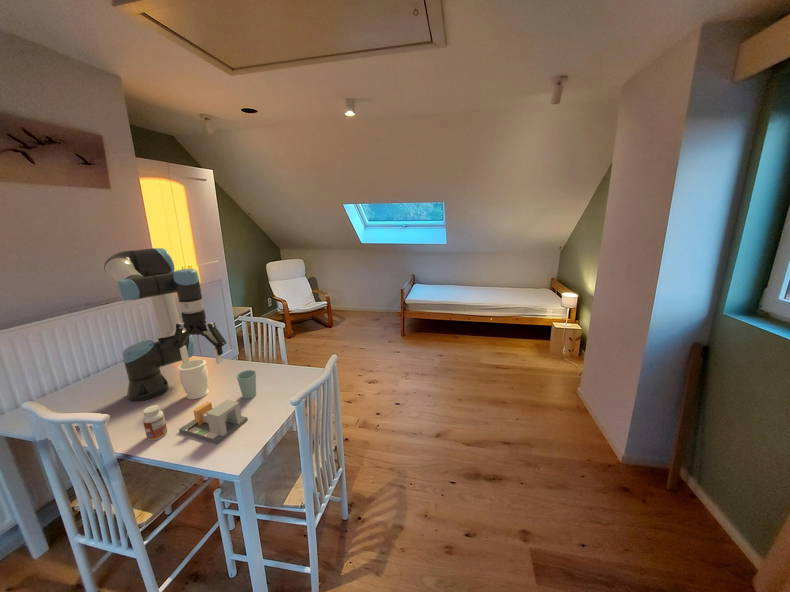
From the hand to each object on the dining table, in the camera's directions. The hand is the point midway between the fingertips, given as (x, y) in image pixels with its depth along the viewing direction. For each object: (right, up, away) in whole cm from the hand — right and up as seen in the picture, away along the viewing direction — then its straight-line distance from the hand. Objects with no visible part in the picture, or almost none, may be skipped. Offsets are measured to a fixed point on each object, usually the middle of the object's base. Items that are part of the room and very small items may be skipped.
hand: (202, 362), depth 126 cm
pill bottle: (-12, -26, -8) cm, 29 cm away
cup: (+11, -18, +17) cm, 27 cm away
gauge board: (+6, -24, -3) cm, 24 cm away
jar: (-13, -19, +19) cm, 30 cm away
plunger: (+5, -23, -5) cm, 24 cm away
